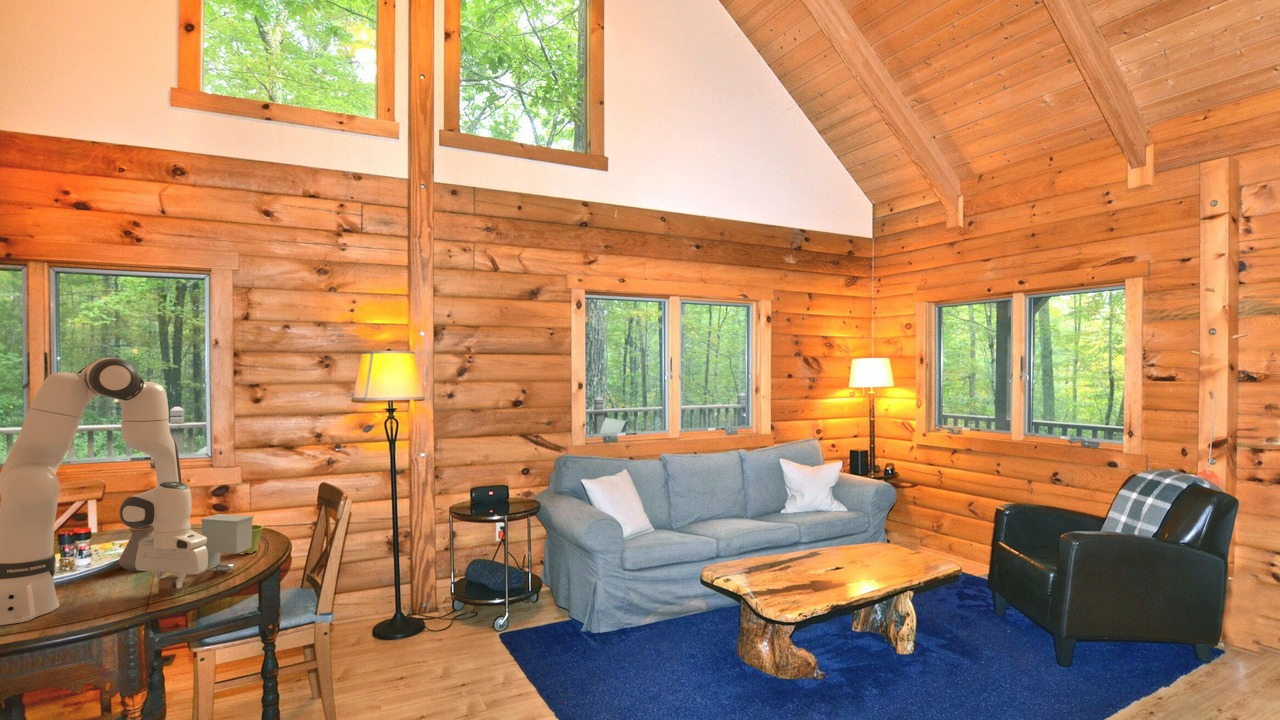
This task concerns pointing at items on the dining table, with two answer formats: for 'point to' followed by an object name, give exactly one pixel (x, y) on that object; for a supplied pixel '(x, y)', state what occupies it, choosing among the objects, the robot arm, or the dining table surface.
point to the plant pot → (254, 538)
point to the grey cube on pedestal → (226, 535)
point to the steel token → (224, 567)
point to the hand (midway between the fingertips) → (170, 587)
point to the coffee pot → (134, 547)
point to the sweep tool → (167, 582)
